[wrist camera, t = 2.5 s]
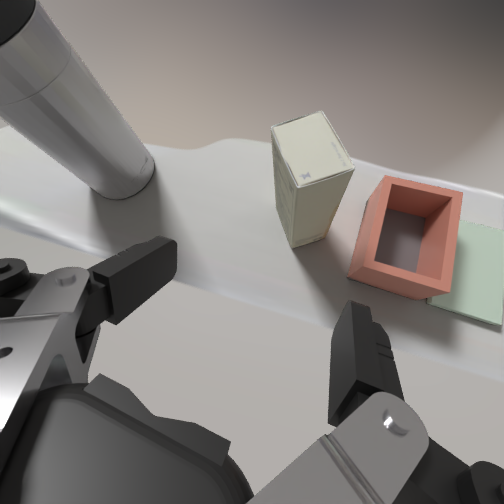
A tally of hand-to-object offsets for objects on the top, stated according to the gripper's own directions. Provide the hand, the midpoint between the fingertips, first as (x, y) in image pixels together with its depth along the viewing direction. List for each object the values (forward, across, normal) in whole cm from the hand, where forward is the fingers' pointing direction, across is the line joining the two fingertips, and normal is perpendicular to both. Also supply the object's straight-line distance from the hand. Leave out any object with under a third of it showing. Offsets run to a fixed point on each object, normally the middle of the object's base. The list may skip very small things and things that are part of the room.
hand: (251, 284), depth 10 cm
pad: (+19, -18, +3) cm, 26 cm away
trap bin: (+19, -10, +3) cm, 22 cm away
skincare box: (+19, 0, +3) cm, 19 cm away
